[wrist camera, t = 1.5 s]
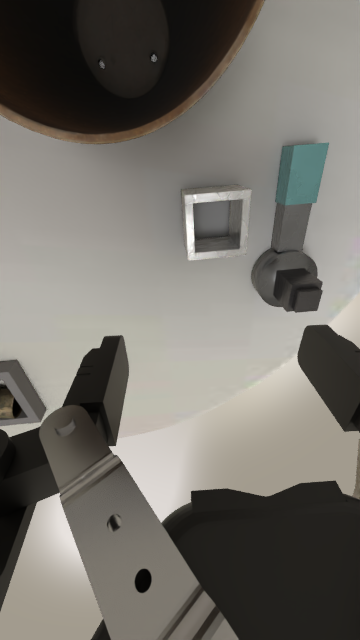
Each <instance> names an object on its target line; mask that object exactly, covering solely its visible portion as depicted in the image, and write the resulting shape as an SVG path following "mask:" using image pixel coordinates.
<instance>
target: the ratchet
mask: <svg viewBox="0 0 360 640" xmlns="http://www.w3.org/2000/svg"><path fill="white" fill-rule="evenodd" d="M328 145H329V143H318V144H307V145H295V146H285V147H282V155H281V163H280V170H279V178H278V185H277V193H276V200H275V202H277V206H276V213H275V221H274V228H273V235H272V243H271V247H272V248H271V249H269V250H268V251H266V252H265V253H263V254H262V255H261V256H260V257H259V258H258V260H257V261H256V263H255V264H254V267H253V270H252V274H251V279H252V284H253V286H254V288H255V289H256V290H257V292H258V293H259V295H260V296H261V297H262V299H263V300H264V301H265V302H266V303H268V304H269V305H272V306H276V307H283V308H284V309H285V310H286V311H287V312H288V311H295V312H307V311H317V309H318V306H319V302H320V299H321V295H322V290H321V287H322V283H323V282H322V281H320V280H319V279H318V278H317V266H316V264H315V262H314V261H313V260H312V259H311V258H310V257H309V256H307V255H306V254H304V253H303V252H301V251H300V250H302V249H303V244H304V239H305V234H306V229H307V225H308V220H309V215H310V210H311V205H312V203H316V201H317V196H318V192H319V187H320V182H321V178H322V173H323V168H324V164H325V159H326V155H327V150H328Z"/></svg>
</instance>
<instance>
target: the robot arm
mask: <svg viewBox="0 0 360 640" xmlns="http://www.w3.org/2000/svg"><path fill="white" fill-rule="evenodd" d="M298 363H299V365H300V367H301V369H302V370H303V372H304V373H305V375H306V376H307V377H308V379H309V381H310V382H311V383H312V385H313V386H314V387H315V389H316V391H317V392H318V394H319V395H320V396H321V398H322V399H323V401H324V402H325V404H326V405H327V407H328V408H329V410H330V411H331V413H332V414H333V416H334V417H335V419H336V420H337V421H338V423H339V424H340V426H341V427H342V429H343V430H344V431H345V432H346V431H359V432H360V349H359V348H358V347H357V346H356V345H355V344H354V343H352V342H351V341H349V340H347V339H345V338H344V337H342V336H340V335H338V334H336V333H335V332H334V331H333V330H332V329H331V328H330V327H329V326H328V325H310V326H307V327H306V328H305V330H304V333H303V337H302V340H301V344H300V347H299V351H298ZM76 375H77V376H75V378H74V381H73V383H72V385H71V388H70V390H69V392H68V394H67V397H66V399H65V401H64V404H63V406H62V408H59V409H57V410H56V411H54V412H53V413H51V414H50V415H49V416H48V417H47V418H46V419H45V420H44V421H43V423H42V425H41V426H40V427H38V428H36V429H33V430H30V431H27V432H24V433H21V434H18V435H15V436H12V437H9V436H8V435H7V433H6V432H5V431H3V430H1V429H0V611H1V607H2V604H3V601H4V599H5V596H6V593H7V590H8V587H9V584H10V580H11V578H12V575H13V572H14V569H15V566H16V563H17V560H18V557H19V554H20V551H21V548H22V545H23V542H24V539H25V536H26V533H27V530H28V527H29V524H30V521H31V518H32V515H33V512H34V509H35V506H36V503H37V502H38V501H40V500H43V499H45V498H48V497H50V496H52V495H55V494H57V493H60V494H61V495H60V500H61V504H62V507H63V509H64V512H65V515H66V518H67V520H68V523H69V526H70V529H71V531H72V534H73V537H74V539H75V542H76V545H77V548H78V550H79V553H80V556H81V559H82V562H83V564H84V567H85V570H86V572H87V575H88V578H89V581H90V583H91V586H92V589H93V592H94V594H95V597H96V600H97V603H98V605H99V608H100V611H101V614H102V616H103V620H102V622H101V623H100V625H99V627H98V628H97V630H96V632H95V634H94V635H93V637H92V639H91V640H360V439H359V444H358V457H357V471H356V484H355V489H354V493H353V495H352V496H349V495H346V494H343V493H342V492H341V490H340V488H339V486H338V484H337V483H336V481H325V482H311V483H300V484H298V485H295V486H293V487H290V488H288V489H286V490H283V491H281V492H279V493H276V494H274V495H272V496H267V497H265V496H259V495H254V494H250V493H245V492H241V491H236V490H231V489H213V490H199V491H191V503H188V504H186V505H184V506H182V507H180V508H179V509H177V510H175V511H174V512H173V513H172V514H170V515H169V516H168V517H167V518H166V519H165V520H164V521H163V522H162V523H161V522H160V521H159V519H158V518H157V516H156V515H155V513H154V511H153V510H152V508H151V507H150V505H149V503H148V502H147V500H146V499H145V497H144V495H143V494H142V493H141V491H140V490H139V488H138V486H137V484H136V483H135V481H134V480H133V478H132V477H131V475H130V474H129V472H128V470H127V469H126V467H125V465H124V464H123V462H122V461H121V460H120V458H119V457H118V456H117V455H114V454H113V453H112V451H111V450H110V448H109V447H108V446H116V442H117V437H118V431H119V426H120V420H121V415H122V409H123V404H124V398H125V393H126V387H127V382H128V376H129V364H128V358H127V353H126V348H125V342H124V338H123V336H122V335H120V336H105V337H104V338H103V341H102V344H101V346H100V348H95V349H92V350H91V351H90V352H88V353H87V354H86V355H85V356H84V358H83V360H82V363H81V365H80V368H79V369H78V372H77V374H76Z"/></svg>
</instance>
